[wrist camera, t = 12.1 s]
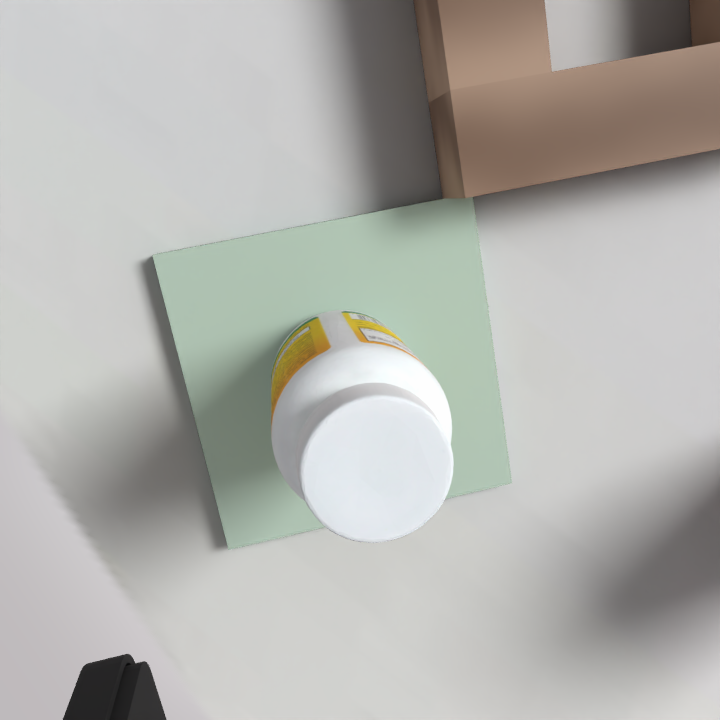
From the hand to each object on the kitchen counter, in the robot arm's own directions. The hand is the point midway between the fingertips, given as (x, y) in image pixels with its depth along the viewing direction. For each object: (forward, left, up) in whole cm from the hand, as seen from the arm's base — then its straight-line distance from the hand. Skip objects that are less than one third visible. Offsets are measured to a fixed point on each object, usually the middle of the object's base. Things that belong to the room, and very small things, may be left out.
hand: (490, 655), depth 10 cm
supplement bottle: (0, 0, -18) cm, 18 cm away
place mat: (0, 0, -18) cm, 18 cm away
